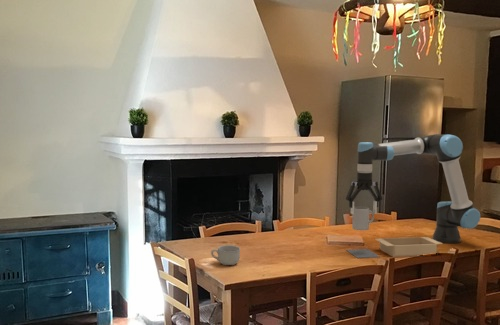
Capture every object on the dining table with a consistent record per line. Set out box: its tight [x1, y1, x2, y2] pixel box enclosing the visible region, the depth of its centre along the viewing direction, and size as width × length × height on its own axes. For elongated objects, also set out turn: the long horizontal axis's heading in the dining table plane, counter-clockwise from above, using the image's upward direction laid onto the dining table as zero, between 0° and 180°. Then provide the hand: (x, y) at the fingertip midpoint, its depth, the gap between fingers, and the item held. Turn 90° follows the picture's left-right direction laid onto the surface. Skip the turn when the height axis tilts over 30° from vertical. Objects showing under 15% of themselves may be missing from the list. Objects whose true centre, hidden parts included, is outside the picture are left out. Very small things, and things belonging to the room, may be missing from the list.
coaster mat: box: [346, 248, 380, 259], centre depth 248 cm, size 12×15×1 cm
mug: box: [351, 206, 375, 231], centre depth 247 cm, size 12×8×11 cm
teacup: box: [210, 244, 241, 266], centre depth 228 cm, size 14×11×8 cm
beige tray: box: [374, 236, 444, 258], centre depth 252 cm, size 31×17×6 cm, turn 100°
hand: (363, 213), depth 246 cm, fingers closed on mug, 12 cm apart
